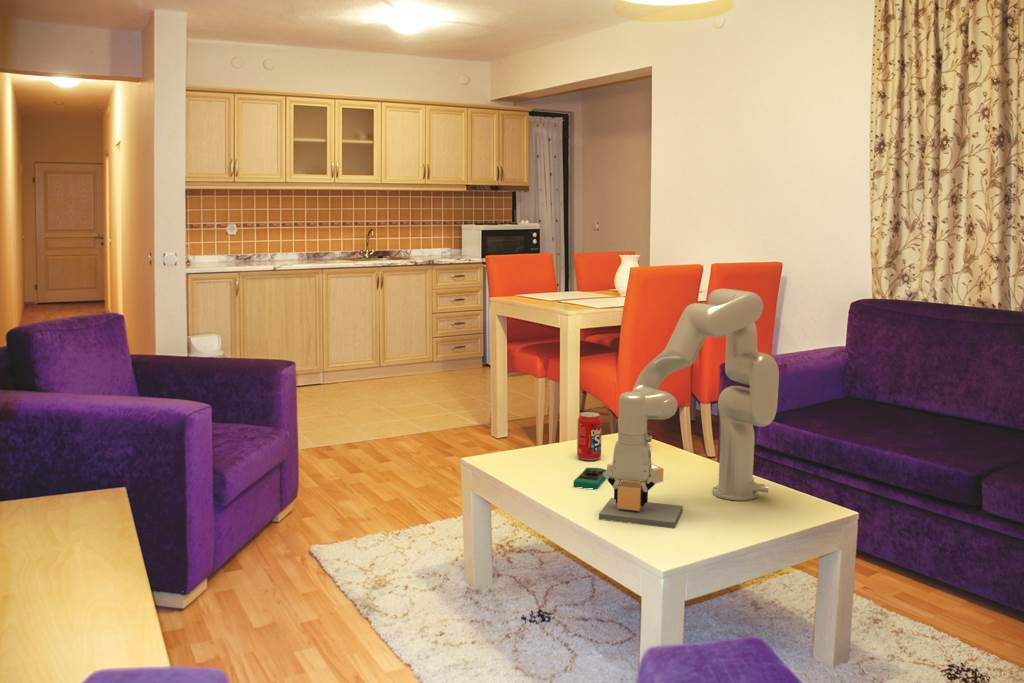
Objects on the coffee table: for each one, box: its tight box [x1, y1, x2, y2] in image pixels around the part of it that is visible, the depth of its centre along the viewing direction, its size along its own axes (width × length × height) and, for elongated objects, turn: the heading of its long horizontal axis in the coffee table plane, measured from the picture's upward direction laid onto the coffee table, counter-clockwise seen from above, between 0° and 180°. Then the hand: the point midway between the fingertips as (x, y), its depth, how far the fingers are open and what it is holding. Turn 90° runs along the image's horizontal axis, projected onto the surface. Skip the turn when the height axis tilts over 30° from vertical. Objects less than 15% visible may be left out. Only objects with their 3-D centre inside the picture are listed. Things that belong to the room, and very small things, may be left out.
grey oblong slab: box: [598, 497, 684, 529], centre depth 244 cm, size 20×14×2 cm
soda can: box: [576, 411, 603, 462], centre depth 297 cm, size 8×8×15 cm
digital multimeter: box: [573, 467, 607, 490], centre depth 273 cm, size 7×15×3 cm, turn 160°
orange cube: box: [617, 480, 642, 511], centre depth 244 cm, size 6×6×6 cm
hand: (630, 502), depth 244 cm, fingers open, 6 cm apart
